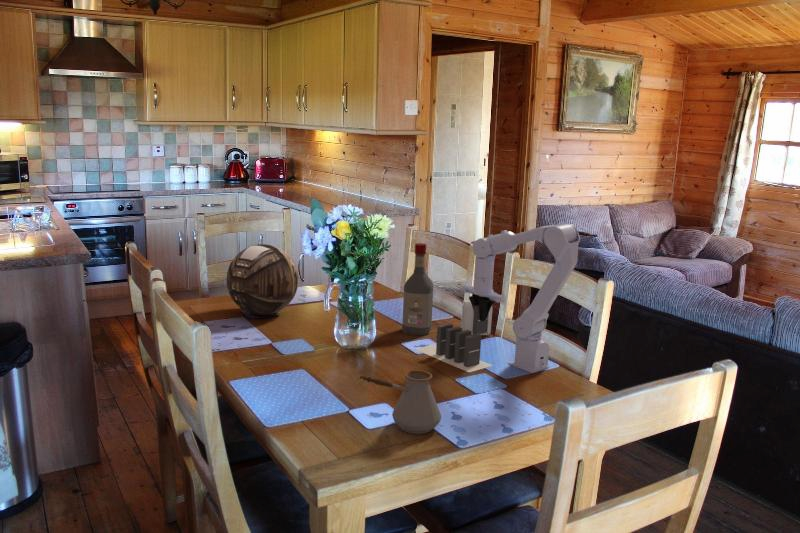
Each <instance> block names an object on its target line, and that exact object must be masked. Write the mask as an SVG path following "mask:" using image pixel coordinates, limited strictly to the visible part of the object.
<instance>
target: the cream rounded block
mask: <svg viewBox="0 0 800 533" xmlns="http://www.w3.org/2000/svg"><path fill="white" fill-rule="evenodd" d="M473 316H474V310H473V307H472V304H471V302H470V300H469V299H466V300H463V303H462V308H461V322H460V323H461V324H460V327H461V328H462V331H465V330H469V331H473ZM492 316H493V306H492V307H491V309H490V311H489V315H488V329H487V333H488V334H487V333H483V334H480V335H481V336H490V335H491V330H492V319H493V317H492ZM489 334H490V335H489ZM471 335H473V334H471Z"/></svg>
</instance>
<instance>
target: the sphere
mask: <svg viewBox="0 0 800 533" xmlns="http://www.w3.org/2000/svg"><path fill="white" fill-rule="evenodd" d="M298 271H299V270H298V268H297V266H296V263H295V261H294V260H293V258H292V257H291V256H290V255H289V253H287V252H286V251H285V250H283V249H281V248H280V247H277V246H274V245H271V244H264V243H263V244H262V243H261V244H255V245H251V246H248V247H246V248H244V249H243V250H241V251H240V252H238V253H237V254H236V256H235V257H233V259H232V261H231V262H230V264H229V266H228V269H227V272H226V287H227V292H228V294H229V296H230V298H231V300H232V301H233V302H234V304H236V305H237V306H238V307H239V308H240V309H241V310H243V311H245V312H246V313H249V314H252V315H255V316H268V315H273V314H275V313H277V312H280V311H282V310H283V309H285V308H286V307H287V306H288V305H289V304H290V303H291V302H292V301H293V299H294V298H295V296H296V294H297V291H298V288H299V283H300V282H299V278H300V277H299V272H298Z"/></svg>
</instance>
